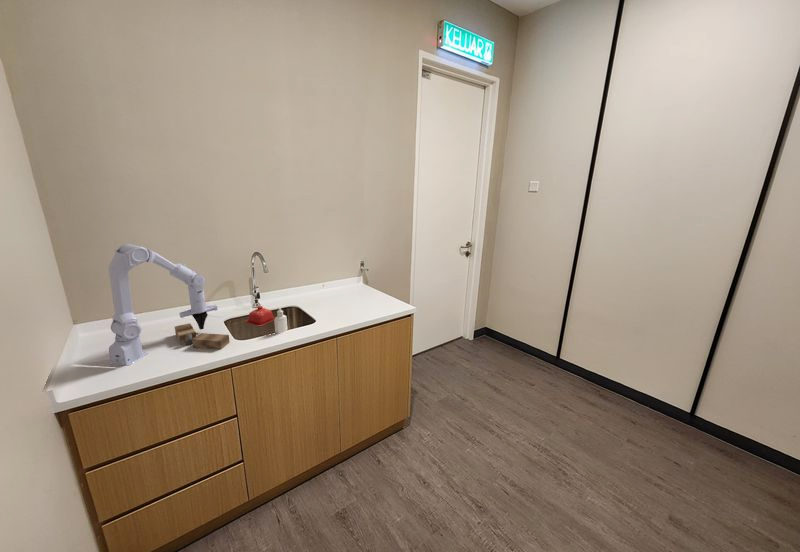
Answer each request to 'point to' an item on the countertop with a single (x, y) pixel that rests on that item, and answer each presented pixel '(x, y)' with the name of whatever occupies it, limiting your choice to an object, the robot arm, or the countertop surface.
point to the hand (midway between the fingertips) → (201, 328)
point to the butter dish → (260, 316)
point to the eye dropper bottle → (280, 322)
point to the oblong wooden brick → (210, 341)
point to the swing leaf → (185, 334)
